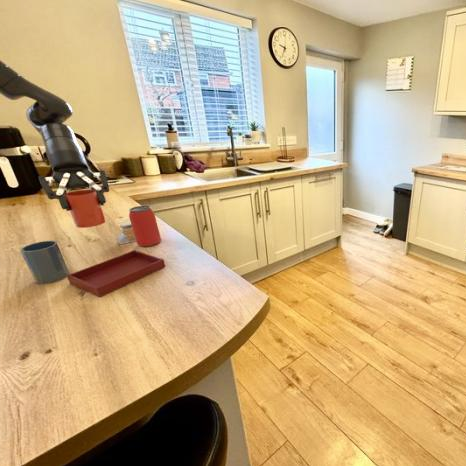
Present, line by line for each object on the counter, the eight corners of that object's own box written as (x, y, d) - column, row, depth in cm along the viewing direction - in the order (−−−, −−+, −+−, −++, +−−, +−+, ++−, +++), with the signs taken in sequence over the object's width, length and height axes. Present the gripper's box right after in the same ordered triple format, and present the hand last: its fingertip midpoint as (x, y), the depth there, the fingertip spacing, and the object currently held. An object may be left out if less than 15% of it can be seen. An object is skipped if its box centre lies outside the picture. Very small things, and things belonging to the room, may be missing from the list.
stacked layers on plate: (151, 237, 98) (147, 222, 96) (119, 244, 93) (113, 228, 91) (147, 229, 105) (143, 215, 103) (117, 235, 100) (112, 220, 98)
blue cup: (44, 286, 71) (29, 253, 67) (30, 280, 73) (14, 248, 69) (75, 274, 76) (63, 243, 73) (61, 269, 78) (48, 238, 75)
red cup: (84, 229, 77) (72, 196, 74) (70, 225, 80) (59, 193, 76) (110, 222, 83) (101, 191, 79) (97, 218, 85) (87, 188, 82)
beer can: (165, 242, 95) (156, 207, 91) (143, 249, 90) (132, 212, 86) (155, 237, 99) (146, 203, 94) (134, 244, 94) (123, 208, 89)
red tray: (99, 297, 67) (96, 288, 66) (70, 283, 72) (66, 275, 71) (165, 266, 80) (163, 259, 79) (136, 257, 85) (134, 249, 84)
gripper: (100, 163, 89) (119, 208, 85) (34, 168, 79) (52, 219, 76) (97, 147, 83) (117, 194, 80) (25, 150, 74) (44, 204, 71)
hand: (85, 206), depth 78 cm, fingers closed on red cup, 6 cm apart
